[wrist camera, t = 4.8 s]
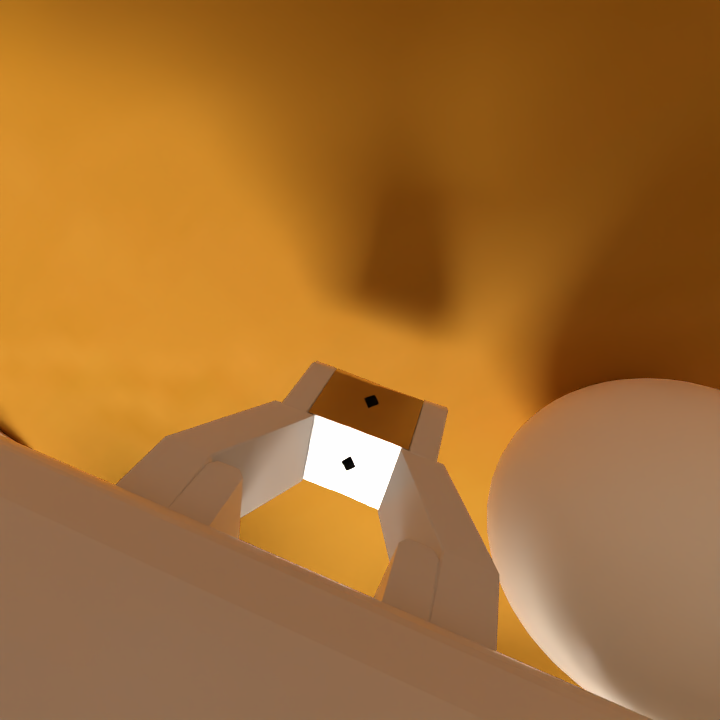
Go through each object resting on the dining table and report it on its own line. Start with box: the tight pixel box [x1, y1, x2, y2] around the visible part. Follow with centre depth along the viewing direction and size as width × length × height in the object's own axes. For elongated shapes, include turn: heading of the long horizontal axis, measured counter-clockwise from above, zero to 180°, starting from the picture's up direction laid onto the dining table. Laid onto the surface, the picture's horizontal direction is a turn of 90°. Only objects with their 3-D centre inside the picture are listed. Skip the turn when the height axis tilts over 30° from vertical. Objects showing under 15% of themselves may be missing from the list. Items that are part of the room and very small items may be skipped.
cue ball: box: [487, 378, 720, 720], centre depth 8 cm, size 6×6×6 cm
